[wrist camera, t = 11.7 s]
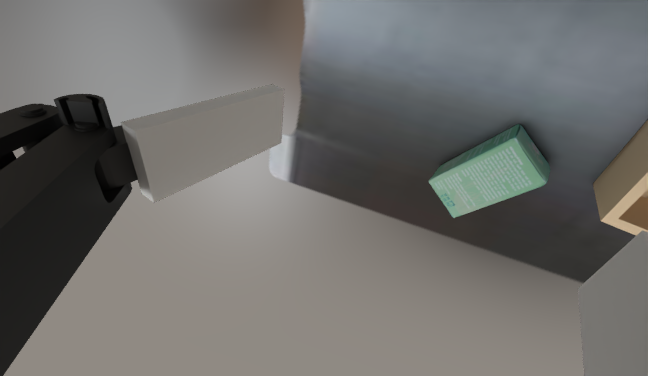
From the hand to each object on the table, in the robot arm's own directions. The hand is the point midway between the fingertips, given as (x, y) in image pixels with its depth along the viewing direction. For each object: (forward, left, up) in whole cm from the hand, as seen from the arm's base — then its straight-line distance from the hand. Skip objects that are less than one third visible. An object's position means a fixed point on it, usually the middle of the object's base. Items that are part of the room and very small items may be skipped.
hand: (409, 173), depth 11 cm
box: (+15, +4, -39) cm, 42 cm away
